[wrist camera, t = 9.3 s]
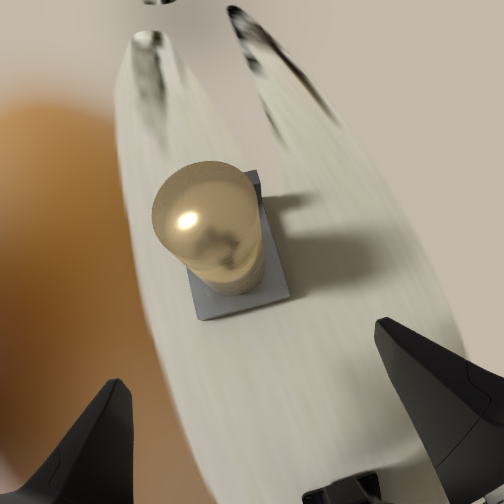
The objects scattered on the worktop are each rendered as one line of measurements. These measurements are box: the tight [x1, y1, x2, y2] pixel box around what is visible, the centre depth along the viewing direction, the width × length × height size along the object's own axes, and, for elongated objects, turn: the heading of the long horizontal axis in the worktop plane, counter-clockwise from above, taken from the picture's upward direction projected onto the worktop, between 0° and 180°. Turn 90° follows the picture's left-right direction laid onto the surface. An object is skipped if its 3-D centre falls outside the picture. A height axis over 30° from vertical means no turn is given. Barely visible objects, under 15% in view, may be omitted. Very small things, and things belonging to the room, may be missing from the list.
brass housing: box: [152, 161, 265, 296], centre depth 18 cm, size 5×5×10 cm
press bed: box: [186, 170, 290, 321], centre depth 22 cm, size 9×7×4 cm
